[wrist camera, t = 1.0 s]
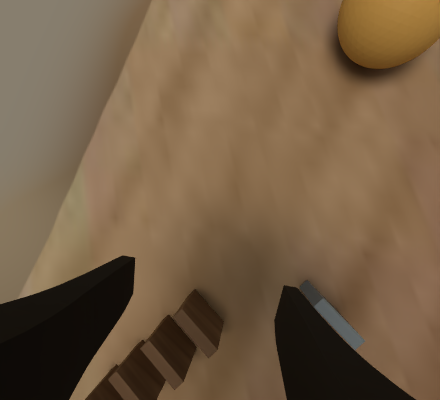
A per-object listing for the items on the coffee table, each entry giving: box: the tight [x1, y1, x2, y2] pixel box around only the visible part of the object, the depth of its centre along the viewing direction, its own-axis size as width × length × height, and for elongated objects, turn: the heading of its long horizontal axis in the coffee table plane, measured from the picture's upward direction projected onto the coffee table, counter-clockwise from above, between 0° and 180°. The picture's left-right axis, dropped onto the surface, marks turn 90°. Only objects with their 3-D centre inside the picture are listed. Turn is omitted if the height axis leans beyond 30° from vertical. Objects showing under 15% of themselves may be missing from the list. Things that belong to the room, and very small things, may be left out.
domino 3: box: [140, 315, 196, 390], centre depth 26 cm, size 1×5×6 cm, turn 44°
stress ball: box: [337, 0, 440, 69], centre depth 24 cm, size 10×10×10 cm
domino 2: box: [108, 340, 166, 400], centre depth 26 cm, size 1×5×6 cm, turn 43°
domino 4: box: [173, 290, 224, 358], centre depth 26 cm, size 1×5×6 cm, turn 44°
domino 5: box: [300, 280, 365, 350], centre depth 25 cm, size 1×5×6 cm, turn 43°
